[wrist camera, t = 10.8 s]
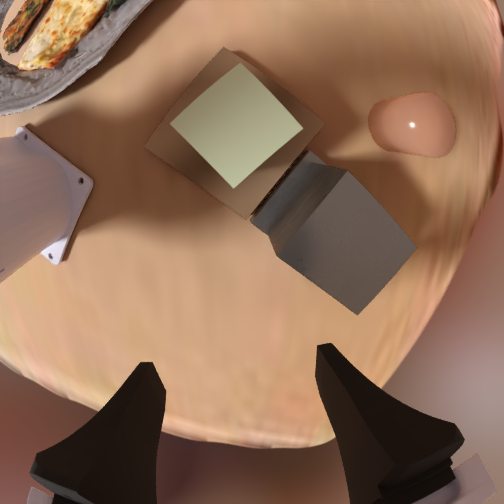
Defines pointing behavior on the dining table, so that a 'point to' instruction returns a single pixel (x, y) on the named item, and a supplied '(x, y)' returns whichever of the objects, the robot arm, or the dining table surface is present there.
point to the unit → (333, 232)
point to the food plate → (58, 46)
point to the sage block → (236, 124)
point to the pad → (200, 171)
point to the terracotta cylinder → (413, 125)
